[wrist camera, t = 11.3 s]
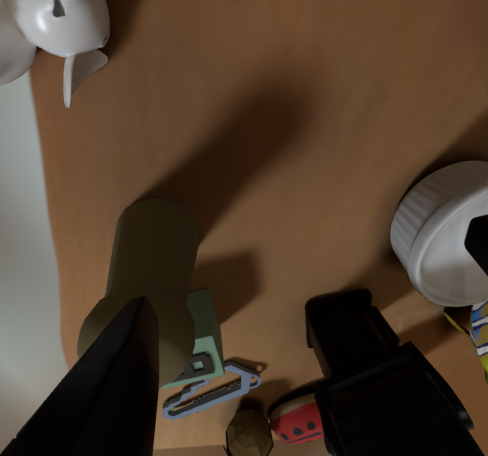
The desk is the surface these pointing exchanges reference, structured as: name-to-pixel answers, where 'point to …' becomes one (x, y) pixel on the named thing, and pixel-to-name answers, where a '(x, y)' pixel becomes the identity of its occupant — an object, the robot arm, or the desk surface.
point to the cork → (152, 279)
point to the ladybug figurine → (297, 420)
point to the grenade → (248, 435)
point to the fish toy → (477, 332)
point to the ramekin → (443, 234)
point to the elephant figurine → (53, 37)
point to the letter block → (203, 341)
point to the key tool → (214, 398)
